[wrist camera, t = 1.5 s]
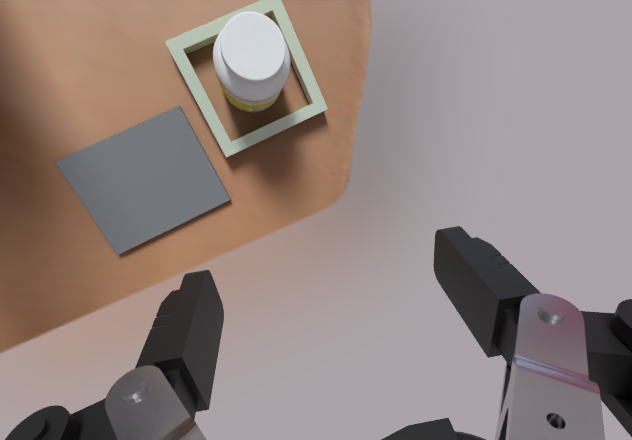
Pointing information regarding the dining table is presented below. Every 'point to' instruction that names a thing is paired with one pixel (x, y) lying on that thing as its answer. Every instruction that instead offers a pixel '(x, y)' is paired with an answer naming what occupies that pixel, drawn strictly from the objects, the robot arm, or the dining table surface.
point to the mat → (144, 180)
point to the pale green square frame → (185, 45)
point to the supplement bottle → (251, 61)
